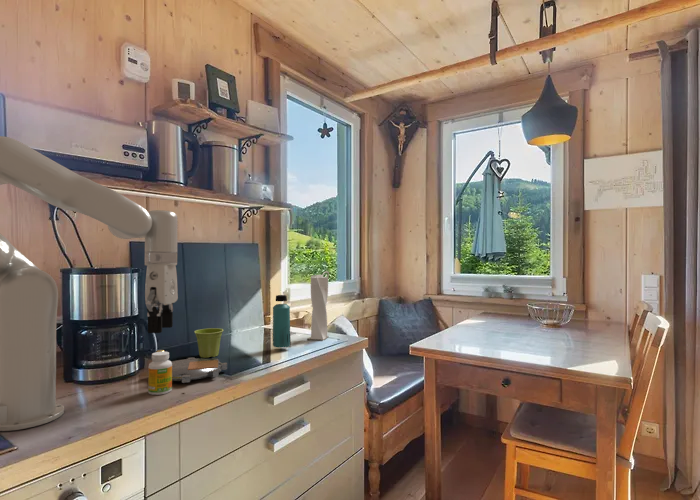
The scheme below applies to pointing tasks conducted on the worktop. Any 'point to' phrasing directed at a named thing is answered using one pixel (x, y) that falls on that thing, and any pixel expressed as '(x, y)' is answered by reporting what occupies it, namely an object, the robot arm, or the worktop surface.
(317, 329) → the skyscraper
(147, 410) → the worktop surface
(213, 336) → the plant pot
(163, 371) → the supplement bottle
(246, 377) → the worktop surface
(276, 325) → the beverage bottle
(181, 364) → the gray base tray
